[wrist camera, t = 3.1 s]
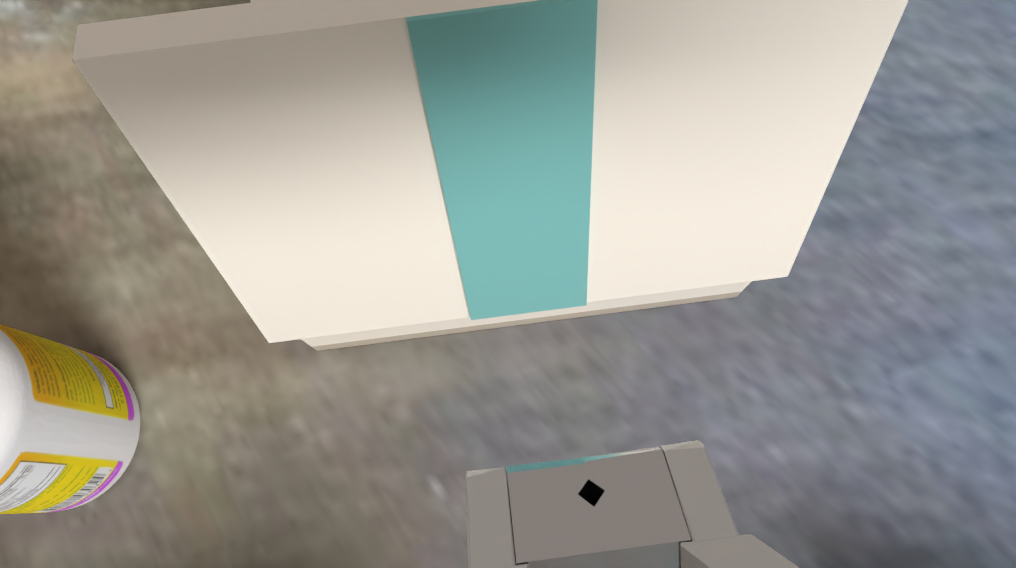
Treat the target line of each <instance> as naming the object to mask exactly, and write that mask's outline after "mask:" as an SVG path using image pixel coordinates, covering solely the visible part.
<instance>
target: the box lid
mask: <svg viewBox="0 0 1016 568" xmlns="http://www.w3.org/2000/svg"><path fill="white" fill-rule="evenodd" d="M907 2H908V0H268V1H260V2H252V3H244V4H236V5H229V6H221V7H213V8H205V9H197V10H189V11H182V12H174V13H166V14H158V15H150V16H143V17H135V18H127V19H119V20H111V21H103V22H96V23H88V24H80V25H78V26H77V32H76V38H75V45H74V51H73V57H72V61H73V62H74V64H75V65H76V66H77V68H78V69H79V71H80V72H81V74H82V75H83V76H84V78H85V79H86V81H87V82H88V84H89V85H90V86H91V88H92V89H93V91H94V92H95V94H96V95H97V97H98V98H99V99H100V101H101V102H102V104H103V105H104V107H105V108H106V109H107V111H108V112H109V114H110V115H111V117H112V118H113V120H114V121H115V122H116V124H117V125H118V127H119V128H120V130H121V131H122V132H123V134H124V135H125V137H126V138H127V140H128V141H129V143H130V144H131V145H132V147H133V148H134V150H135V151H136V153H137V154H138V155H139V157H140V158H141V160H142V161H143V163H144V164H145V166H146V167H147V168H148V170H149V171H150V173H151V174H152V176H153V177H154V178H155V180H156V181H157V183H158V184H159V186H160V187H161V189H162V190H163V191H164V193H165V194H166V196H167V197H168V199H169V200H170V201H171V203H172V204H173V206H174V207H175V209H176V210H177V211H178V213H179V214H180V216H181V217H182V219H183V220H184V222H185V223H186V224H187V226H188V227H189V229H190V230H191V232H192V233H193V234H194V236H195V237H196V239H197V240H198V242H199V243H200V245H201V246H202V247H203V249H204V250H205V252H206V253H207V255H208V256H209V257H210V259H211V260H212V262H213V263H214V265H215V266H216V268H217V269H218V270H219V272H220V273H221V275H222V276H223V278H224V279H225V280H226V282H227V283H228V285H229V286H230V288H231V289H232V291H233V292H234V293H235V295H236V296H237V298H238V299H239V301H240V302H241V303H242V305H243V306H244V308H245V309H246V311H247V312H248V313H249V315H250V316H251V318H252V319H253V321H254V322H255V324H256V325H257V326H258V328H259V329H260V331H261V332H262V334H263V335H264V336H265V338H266V339H267V341H268V342H269V343H273V342H281V341H289V340H296V339H304V338H312V337H320V336H328V335H335V334H343V333H351V332H359V331H366V330H374V329H382V328H390V327H398V326H405V325H413V324H421V323H429V322H437V321H444V320H452V319H460V318H468V317H471V320H477V319H484V318H492V317H500V316H508V315H516V314H523V313H531V312H539V311H547V310H555V309H562V308H570V307H578V306H586V305H587V302H592V301H600V300H608V299H616V298H624V297H631V296H639V295H647V294H655V293H663V292H670V291H678V290H686V289H694V288H702V287H709V286H717V285H725V284H733V283H740V282H748V281H756V280H764V279H772V278H779V277H787V276H788V274H789V272H790V270H791V268H792V265H793V263H794V261H795V258H796V256H797V254H798V252H799V249H800V247H801V245H802V242H803V240H804V238H805V236H806V233H807V231H808V229H809V226H810V224H811V222H812V220H813V217H814V215H815V213H816V210H817V208H818V206H819V204H820V201H821V199H822V197H823V194H824V192H825V190H826V188H827V185H828V183H829V181H830V178H831V176H832V174H833V172H834V169H835V167H836V165H837V162H838V160H839V158H840V156H841V153H842V151H843V149H844V146H845V144H846V142H847V140H848V137H849V135H850V133H851V130H852V128H853V126H854V124H855V121H856V119H857V117H858V114H859V112H860V110H861V108H862V105H863V103H864V101H865V98H866V96H867V94H868V92H869V89H870V87H871V85H872V82H873V80H874V78H875V76H876V73H877V71H878V69H879V66H880V64H881V62H882V60H883V57H884V55H885V53H886V50H887V48H888V46H889V44H890V41H891V39H892V37H893V34H894V32H895V30H896V28H897V25H898V23H899V21H900V18H901V16H902V14H903V12H904V9H905V7H906V5H907Z"/></svg>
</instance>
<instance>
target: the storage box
mask: <svg viewBox="0 0 1016 568" xmlns="http://www.w3.org/2000/svg"><path fill="white" fill-rule="evenodd" d="M260 1H268V0H251V3H252V2H260ZM750 282H751V281H748V282H740V283H733V284H725V285H717V286H709V287H702V288H694V289H686V290H678V291H670V292H663V293H655V294H647V295H639V296H631V297H624V298H616V299H608V300H600V301H592V302H587V305H586V306H578V307H570V308H562V309H555V310H547V311H539V312H531V313H523V314H516V315H508V316H500V317H492V318H484V319H477V320H471V317H468V318H460V319H452V320H444V321H437V322H429V323H421V324H413V325H405V326H398V327H390V328H382V329H374V330H366V331H359V332H351V333H343V334H335V335H328V336H320V337H312V338H304V339H301V340H303V341H304V342H306V343H307V344H308V345H310V346H311V347H313V348H314V349H316V350H317V351H319V350H327V349H335V348H342V347H350V346H358V345H366V344H373V343H381V342H389V341H397V340H405V339H412V338H420V337H428V336H436V335H444V334H451V333H459V332H467V331H475V330H483V329H490V328H498V327H506V326H514V325H521V324H529V323H537V322H545V321H553V320H560V319H568V318H576V317H584V316H592V315H599V314H607V313H615V312H623V311H631V310H638V309H646V308H654V307H662V306H669V305H677V304H685V303H693V302H701V301H708V300H716V299H724V298H732V297H737V296H738V295H739V294H740V293H741V291H742V290H743V289H744V288H745V287H746V286H747V285H748V284H749V283H750Z"/></svg>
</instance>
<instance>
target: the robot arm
mask: <svg viewBox="0 0 1016 568" xmlns="http://www.w3.org/2000/svg"><path fill="white" fill-rule="evenodd" d="M465 494H466V518H467V541H468V565H469V568H799V567H798V566H796V565H795V564H794V563H792V562H791V561H789V560H788V559H786V558H785V557H784V556H782V555H781V554H779V553H778V552H776V551H775V550H774V549H772V548H771V547H769V546H768V545H766V544H765V543H764V542H762V541H761V540H759V539H758V538H756V537H755V536H754V535H752V534H746V535H739V533H738V530H737V528H736V525H735V523H734V520H733V518H732V515H731V513H730V510H729V508H728V505H727V502H726V500H725V497H724V495H723V492H722V490H721V487H720V485H719V482H718V480H717V477H716V474H715V472H714V469H713V467H712V464H711V462H710V459H709V457H708V454H707V451H706V449H705V446H704V445H703V444H702V443H701V442H700V441H699V440H698V441H691V442H684V443H678V444H671V445H665V446H660V448H659V447H654V448H647V449H640V450H633V451H626V452H619V453H612V454H605V455H598V456H591V457H584V458H577V459H568V460H559V461H550V462H541V463H532V464H522V465H513V466H507V471H506V468H494V469H485V470H475V471H467V472H466V478H465Z"/></svg>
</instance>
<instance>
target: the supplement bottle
mask: <svg viewBox="0 0 1016 568" xmlns="http://www.w3.org/2000/svg"><path fill="white" fill-rule="evenodd" d="M139 433H140V411H139V405H138V401H137V398H136V395H135V393H134V391H133V389H132V387H131V385H130V383H129V382H128V380H127V379H126V378H125V376H124V375H123V374H122V373H121V372H120V371H119V370H118V369H117V368H116V367H115V366H113V365H112V364H111V363H109V362H108V361H106V360H105V359H103V358H101V357H99V356H96V355H94V354H91V353H89V352H86V351H82V350H79V349H77V348H73V347H70V346H67V345H64V344H61V343H57V342H54V341H51V340H48V339H45V338H42V337H39V336H36V335H33V334H30V333H27V332H24V331H20V330H17V329H14V328H11V327H7V326H4V325H1V324H0V514H17V513H45V512H56V511H62V510H67V509H71V508H75V507H78V506H81V505H83V504H86V503H88V502H90V501H92V500H94V499H95V498H97V497H99V496H100V495H101V494H103V493H104V492H105V491H107V490H108V489H109V488H110V487H111V486H112V485H113V484H114V483H115V482H116V481H117V480H118V479H119V478H120V477H121V475H122V474H123V473H124V471H125V470H126V468H127V467H128V465H129V463H130V461H131V459H132V457H133V455H134V452H135V450H136V447H137V443H138V439H139Z"/></svg>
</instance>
